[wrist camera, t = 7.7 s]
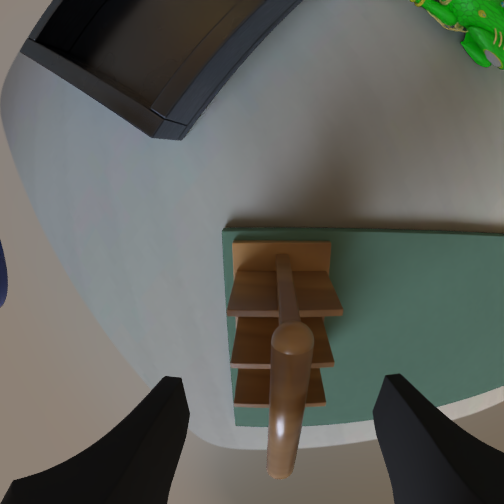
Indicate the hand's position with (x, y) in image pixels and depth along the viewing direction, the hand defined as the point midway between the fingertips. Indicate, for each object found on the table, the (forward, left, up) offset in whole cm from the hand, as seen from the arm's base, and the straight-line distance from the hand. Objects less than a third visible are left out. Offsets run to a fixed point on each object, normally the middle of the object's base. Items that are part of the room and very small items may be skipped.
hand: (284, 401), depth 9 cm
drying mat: (+12, -8, -6) cm, 16 cm away
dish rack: (0, 0, -6) cm, 6 cm away
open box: (+2, +17, -6) cm, 18 cm away
